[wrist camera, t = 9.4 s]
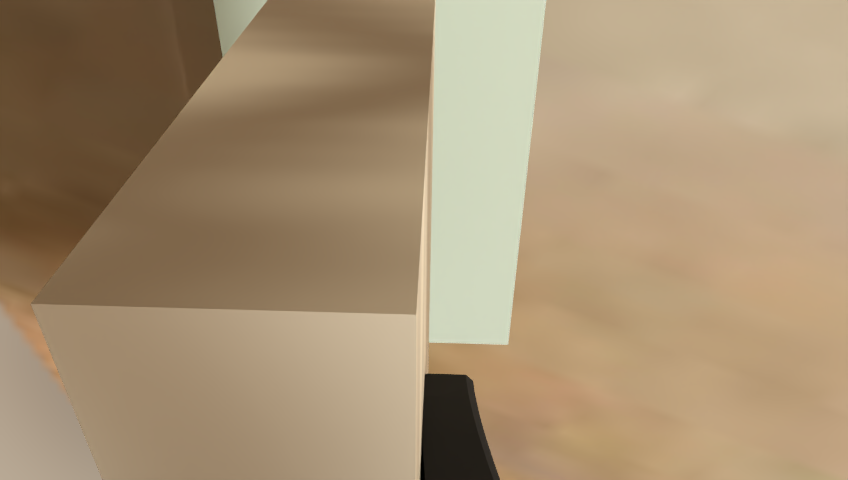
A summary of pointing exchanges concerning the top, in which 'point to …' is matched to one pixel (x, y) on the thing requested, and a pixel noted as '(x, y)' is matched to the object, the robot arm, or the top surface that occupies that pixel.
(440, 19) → the rest board
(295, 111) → the tan wooden block
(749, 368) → the top surface
